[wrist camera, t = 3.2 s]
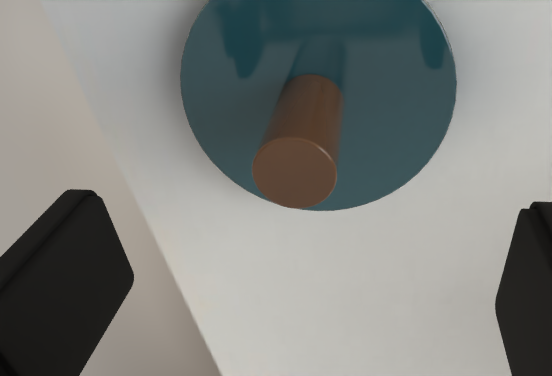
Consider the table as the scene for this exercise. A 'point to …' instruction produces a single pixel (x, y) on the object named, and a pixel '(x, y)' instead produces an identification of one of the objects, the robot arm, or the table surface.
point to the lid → (318, 96)
